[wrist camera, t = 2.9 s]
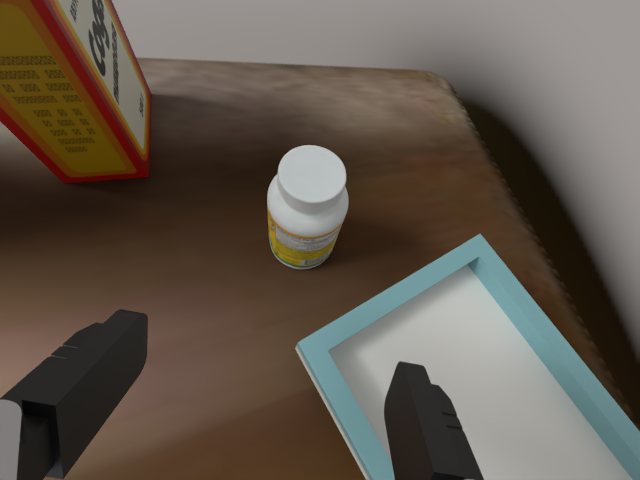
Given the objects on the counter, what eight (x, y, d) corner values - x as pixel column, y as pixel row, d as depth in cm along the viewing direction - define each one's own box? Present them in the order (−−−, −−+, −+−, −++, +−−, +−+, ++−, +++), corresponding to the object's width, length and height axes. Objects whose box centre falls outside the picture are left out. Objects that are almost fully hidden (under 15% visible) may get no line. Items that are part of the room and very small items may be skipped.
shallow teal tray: (292, 354, 25) (297, 342, 19) (438, 265, 29) (480, 233, 23) (470, 683, 19) (558, 818, 13) (620, 513, 23) (739, 556, 17)
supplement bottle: (317, 281, 27) (337, 229, 18) (256, 253, 27) (247, 189, 19) (343, 227, 29) (371, 157, 21) (286, 201, 30) (290, 122, 21)
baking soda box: (149, 177, 29) (21, -37, 15) (64, 183, 28) (-167, -41, 13) (151, 93, 33) (49, -145, 18) (75, 96, 32) (-97, -156, 17)
